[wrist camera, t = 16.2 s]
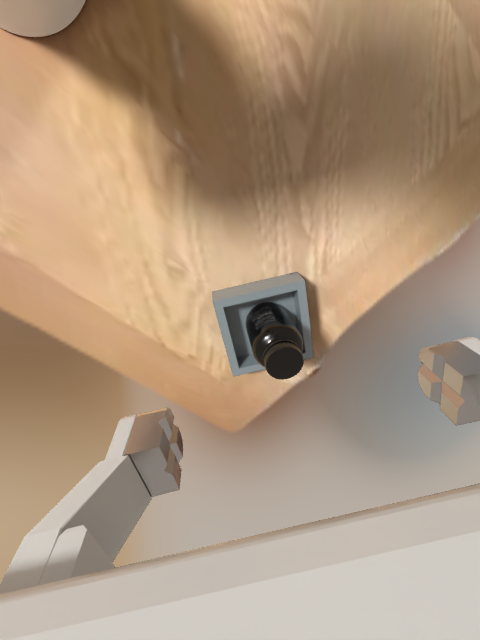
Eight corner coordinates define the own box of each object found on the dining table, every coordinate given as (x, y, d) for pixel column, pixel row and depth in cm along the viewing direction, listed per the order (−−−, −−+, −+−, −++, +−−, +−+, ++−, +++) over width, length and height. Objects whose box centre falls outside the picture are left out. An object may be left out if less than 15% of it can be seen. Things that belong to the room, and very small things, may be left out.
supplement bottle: (243, 339, 48) (253, 386, 37) (247, 299, 45) (259, 337, 34) (284, 340, 49) (306, 386, 38) (291, 301, 46) (317, 339, 35)
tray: (212, 291, 45) (212, 301, 41) (297, 271, 45) (304, 280, 41) (231, 362, 51) (233, 376, 47) (306, 344, 51) (314, 357, 47)
